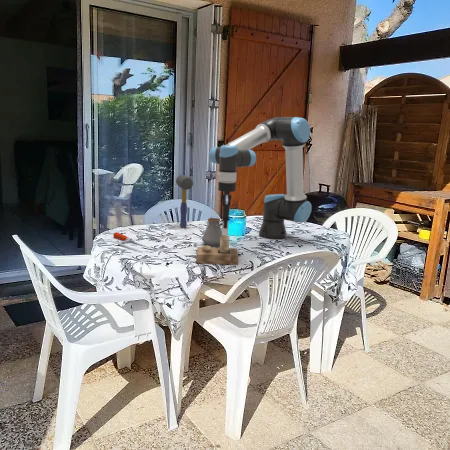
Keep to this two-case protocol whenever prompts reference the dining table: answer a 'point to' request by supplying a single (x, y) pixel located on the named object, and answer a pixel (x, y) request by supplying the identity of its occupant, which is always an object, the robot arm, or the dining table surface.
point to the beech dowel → (224, 244)
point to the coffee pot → (212, 232)
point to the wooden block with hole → (216, 256)
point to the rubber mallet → (184, 196)
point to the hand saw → (127, 239)
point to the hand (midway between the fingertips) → (224, 234)
